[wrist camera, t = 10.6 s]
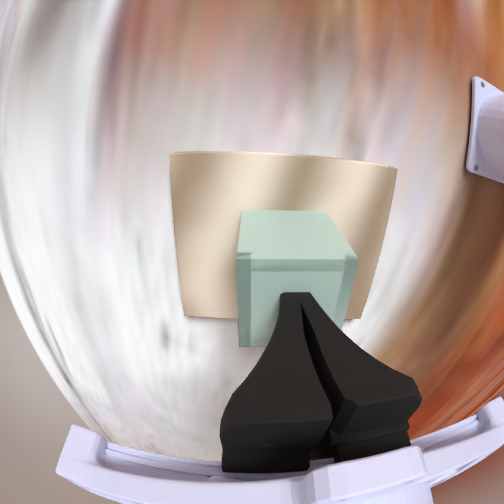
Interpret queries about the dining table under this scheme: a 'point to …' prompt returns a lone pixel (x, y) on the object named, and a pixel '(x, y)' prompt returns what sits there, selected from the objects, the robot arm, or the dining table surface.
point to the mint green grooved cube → (289, 268)
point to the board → (269, 198)
